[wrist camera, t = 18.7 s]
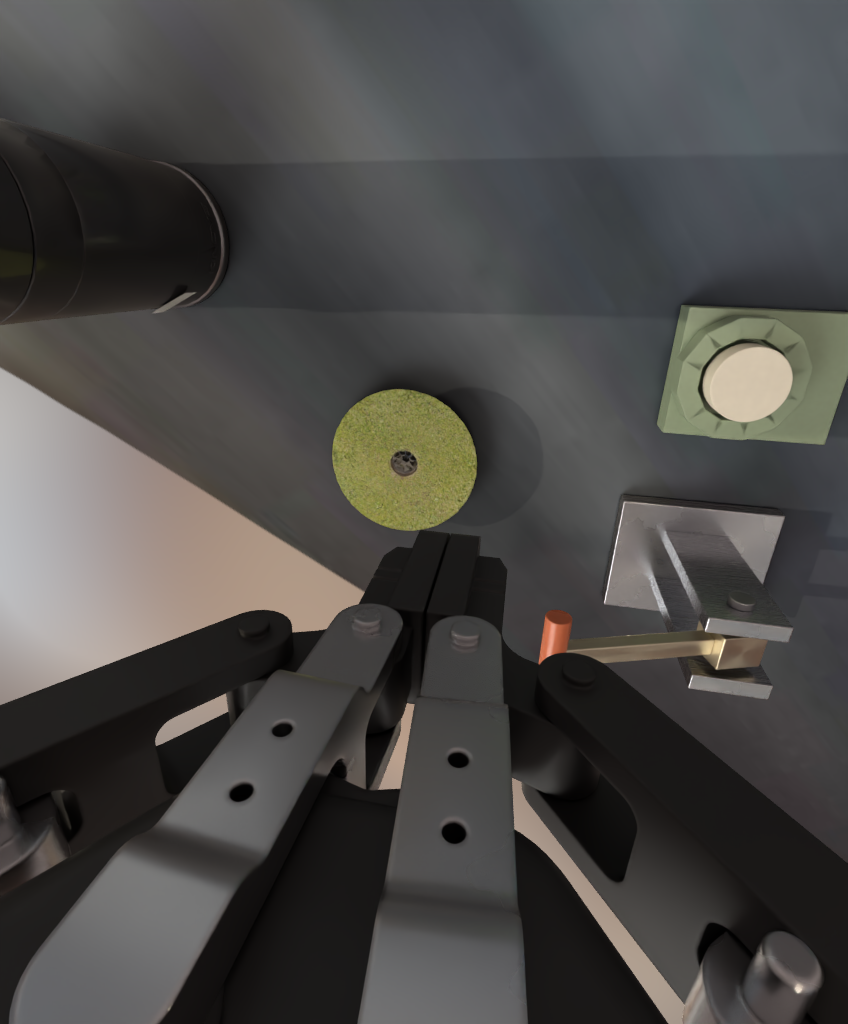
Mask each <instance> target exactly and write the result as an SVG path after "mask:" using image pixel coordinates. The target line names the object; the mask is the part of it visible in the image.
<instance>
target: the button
mask: <svg viewBox="0 0 848 1024" xmlns="http://www.w3.org/2000/svg"><path fill="white" fill-rule="evenodd" d="M792 381H793V374H792V369H791V366H790V364H789V362H788V360H787V359H786V358H785V357H784V356H783V355H782V354H781V353H780V352H778V351H776V350H774V349H771V348H769V347H766V346H763V345H759V344H754V343H743V344H738V345H735V346H732V347H730V348H728V349H726V350H724V351H723V352H721V353H720V354H719V355H717V356H716V357H715V358H714V359H713V360H712V362H711V363H710V364H709V366H708V368H707V369H706V372H705V374H704V377H703V384H702V388H703V394H704V397H705V399H706V401H707V402H708V404H709V405H710V406H711V407H712V408H713V409H714V410H716V411H717V412H718V413H719V414H721V415H722V416H724V417H725V418H727V419H729V420H732V421H737V422H751V421H756V420H759V419H762V418H764V417H766V416H768V415H770V414H771V413H773V412H774V411H776V410H777V409H778V408H779V407H780V406H781V405H782V404H783V402H784V401H785V400H786V398H787V396H788V394H789V392H790V390H791V386H792Z"/></svg>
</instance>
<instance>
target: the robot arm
mask: <svg viewBox="0 0 848 1024" xmlns="http://www.w3.org/2000/svg"><path fill="white" fill-rule="evenodd" d="M228 258H229V239H228V232H227V228H226V224H225V221H224V218H223V215H222V213H221V210H220V208H219V206H218V204H217V203H216V201H215V199H214V198H213V196H212V195H211V193H210V192H209V191H208V189H207V188H206V187H205V186H204V185H203V184H202V183H201V182H200V181H199V180H198V179H197V178H196V177H194V176H193V175H192V174H190V173H189V172H187V171H185V170H184V169H182V168H179V167H177V166H174V165H171V164H168V163H164V162H160V161H152V160H147V159H144V158H140V157H137V156H134V155H131V154H127V153H124V152H120V151H117V150H113V149H110V148H106V147H102V146H99V145H95V144H92V143H88V142H85V141H81V140H78V139H74V138H71V137H67V136H63V135H60V134H56V133H53V132H49V131H46V130H42V129H39V128H35V127H32V126H28V125H24V124H21V123H17V122H14V121H10V120H7V119H3V118H0V325H5V324H14V323H24V322H33V321H40V320H49V319H59V318H69V317H78V316H88V315H98V314H107V313H117V312H127V311H137V310H146V309H157V310H156V311H154V312H152V313H159V312H164V311H166V310H168V309H169V308H181V307H189V306H193V305H196V304H199V303H201V302H203V301H204V300H206V299H207V298H209V297H210V296H211V295H212V294H213V293H214V292H215V291H216V289H217V288H218V287H219V285H220V283H221V281H222V280H223V277H224V275H225V272H226V269H227V264H228ZM158 308H159V309H158ZM480 540H481V537H480V536H471V535H462V534H453V533H451V536H450V534H449V533H443V532H434V531H424V530H420V532H419V534H418V536H417V538H416V541H415V543H414V545H413V548H404V547H396V548H395V549H393V550H392V551H390V552H389V553H387V554H386V555H384V557H383V559H382V561H381V562H380V564H379V566H378V569H377V570H376V572H375V574H374V576H373V578H372V580H371V582H370V583H369V585H368V587H367V589H366V591H365V593H364V595H363V597H362V599H361V601H360V603H359V604H358V605H354V606H351V607H348V608H346V609H344V610H342V611H341V612H340V613H338V615H337V616H336V617H335V618H334V620H333V621H332V622H331V624H330V625H329V627H328V628H327V629H325V630H319V631H307V632H296V633H295V632H294V633H292V624H291V622H290V620H289V619H288V618H287V617H286V616H285V615H283V614H281V613H279V612H275V611H269V610H255V611H249V612H245V613H242V614H239V615H236V616H234V617H231V618H228V619H226V620H223V621H220V622H218V623H215V624H213V625H210V626H207V627H205V628H202V629H200V630H197V631H194V632H191V633H189V634H186V635H184V636H181V637H178V638H176V639H173V640H170V641H168V642H165V643H163V644H160V645H157V646H155V647H152V648H149V649H147V650H144V651H142V652H139V653H136V654H134V655H131V656H128V657H126V658H123V659H121V660H118V661H116V662H113V663H110V664H108V665H105V666H103V667H100V668H97V669H94V670H92V671H89V672H87V673H84V674H81V675H79V676H76V677H73V678H71V679H68V680H65V681H63V682H60V683H57V684H55V685H52V686H50V687H47V688H44V689H42V690H39V691H36V692H34V693H31V694H29V695H26V696H24V697H21V698H18V699H15V700H13V701H10V702H8V703H5V704H2V705H0V1024H668V1023H667V1021H666V1020H665V1018H664V1017H663V1015H662V1014H661V1013H660V1011H659V1010H658V1008H657V1007H656V1005H655V1004H654V1003H653V1001H652V1000H651V998H650V997H649V995H648V994H647V993H646V991H645V990H644V988H643V987H642V985H641V984H640V983H639V981H638V980H637V978H636V977H635V975H634V974H633V972H632V971H631V970H630V968H629V967H628V965H627V964H626V962H625V961H624V960H623V958H622V957H621V955H620V954H619V952H618V951H617V950H616V948H615V947H614V945H613V944H612V942H611V941H610V940H609V938H608V937H607V935H606V934H605V933H604V931H603V930H602V928H601V927H600V925H599V924H598V922H597V921H596V919H595V918H594V917H593V915H592V914H591V912H590V911H589V909H588V908H587V907H586V905H585V904H584V902H583V901H582V899H581V898H580V897H579V895H578V894H577V892H576V891H575V889H574V888H573V887H572V885H571V884H570V882H569V881H568V880H567V878H566V877H565V875H564V874H563V873H562V871H561V870H560V869H559V868H558V867H557V866H556V865H555V863H554V862H553V861H552V860H551V859H550V858H549V857H548V855H547V854H546V853H544V852H543V851H542V850H541V849H540V848H539V847H538V846H537V845H536V844H535V843H533V842H532V841H531V840H529V839H528V838H526V837H525V836H524V835H523V834H521V833H520V832H518V831H516V830H515V829H514V814H513V794H512V793H513V792H512V778H514V779H516V780H518V781H521V782H522V791H523V794H524V796H525V798H526V800H527V802H528V803H529V805H530V806H531V807H532V808H533V810H534V811H535V812H536V813H537V815H538V816H539V817H540V819H541V820H542V821H543V823H544V824H545V825H546V826H547V828H548V829H549V830H550V831H551V833H552V834H553V835H554V837H555V838H556V839H557V841H558V842H559V843H560V844H561V846H562V847H563V848H564V850H565V851H566V852H567V853H568V855H569V856H570V857H571V859H572V860H573V861H574V863H575V864H576V865H577V866H578V868H579V869H580V870H581V872H582V873H583V874H584V875H585V877H586V878H587V879H588V881H589V882H590V883H591V885H592V886H593V887H594V888H595V890H596V891H597V892H598V893H599V895H600V896H601V897H602V899H603V900H604V901H605V903H606V904H607V905H608V906H609V908H610V909H611V910H612V912H613V913H614V914H615V915H616V917H617V918H618V919H619V921H620V922H621V923H622V925H623V926H624V927H625V928H626V930H627V931H628V932H629V934H630V935H631V936H632V937H633V939H634V940H635V941H636V942H637V944H638V945H639V946H640V948H641V949H642V950H643V952H644V953H645V954H646V956H647V957H648V958H649V959H650V961H651V962H652V963H653V965H654V966H655V967H656V968H657V970H658V971H659V972H660V973H661V975H662V976H663V977H664V979H665V980H666V981H667V983H668V984H669V985H670V987H671V988H672V989H673V990H674V992H675V993H676V994H677V996H678V997H679V998H680V999H681V1001H682V1002H683V1003H684V1005H685V1006H684V1010H683V1024H848V863H847V862H845V861H844V860H843V859H842V858H840V857H839V856H838V855H837V854H836V853H834V852H833V851H832V850H831V849H829V848H828V847H827V846H826V845H825V844H823V843H822V842H821V841H820V840H818V839H817V838H816V837H815V836H814V835H812V834H811V833H810V832H809V831H807V830H806V829H805V828H804V827H803V826H801V825H800V824H799V823H798V822H796V821H795V820H794V819H793V818H792V817H790V816H789V815H788V814H787V813H785V812H784V811H783V810H782V809H781V808H779V807H778V806H777V805H776V804H774V803H773V802H772V801H771V800H770V799H768V798H767V797H766V796H765V795H763V794H762V793H761V792H760V791H759V790H757V789H756V788H755V787H754V786H752V785H751V784H750V783H749V782H748V781H746V780H745V779H744V778H743V777H741V776H740V775H739V774H738V773H737V772H735V771H734V770H733V769H732V768H731V767H729V766H728V765H727V764H726V763H724V762H723V761H722V760H721V759H720V758H718V757H717V756H716V755H715V754H713V753H712V752H711V751H710V750H709V749H707V748H706V747H705V746H704V745H702V744H701V743H700V742H699V741H698V740H696V739H695V738H694V737H693V736H691V735H690V734H689V733H688V732H687V731H685V730H684V729H683V728H682V727H680V726H679V725H678V724H677V723H676V722H674V721H673V720H672V719H671V718H669V717H668V716H667V715H666V714H665V713H663V712H662V711H661V710H660V709H658V708H657V707H656V706H655V705H654V704H652V703H651V702H650V701H649V700H647V699H646V698H645V697H644V696H643V695H641V694H640V693H639V692H638V691H636V690H635V689H634V688H633V687H632V686H630V685H629V684H628V683H627V682H625V681H624V680H623V679H622V678H621V677H619V676H618V675H617V674H616V673H614V672H613V671H612V670H611V669H610V668H608V667H607V666H606V665H604V664H603V663H601V662H600V661H598V660H596V659H594V658H592V657H589V656H586V655H582V654H578V653H557V654H553V655H551V656H548V657H547V658H545V659H544V660H543V661H542V662H541V663H540V664H537V663H534V662H532V661H529V660H527V659H524V658H522V657H521V656H519V655H517V654H516V653H514V652H513V651H512V650H511V649H510V648H509V647H508V646H507V645H506V643H505V642H504V640H503V637H502V624H503V613H504V602H505V590H506V579H507V569H506V567H505V566H504V564H503V563H502V561H501V560H500V558H493V557H484V556H479V554H480ZM225 693H226V697H227V704H228V711H229V712H227V713H225V714H223V715H221V716H219V717H217V718H214V719H213V720H210V721H209V722H206V723H205V724H202V725H200V726H198V727H196V728H194V729H192V730H190V731H188V732H186V733H184V734H182V735H180V736H178V737H176V738H173V739H171V740H169V741H167V742H165V743H163V744H161V745H158V746H156V745H155V738H156V735H157V733H158V731H159V730H160V728H161V727H162V726H163V725H164V724H165V723H166V722H167V721H169V720H170V719H172V718H174V717H176V716H178V715H180V714H182V713H184V712H187V711H189V710H191V709H193V708H195V707H197V706H200V705H202V704H204V703H206V702H208V701H210V700H212V699H215V698H217V697H219V696H221V695H223V694H225ZM407 703H410V704H415V706H414V711H413V717H412V723H411V729H410V735H409V741H408V747H407V753H406V759H405V765H404V771H403V777H402V783H401V789H387V790H378V788H379V786H380V784H381V781H382V778H383V776H384V773H385V771H386V768H387V766H388V763H389V761H390V758H391V755H392V753H393V750H394V748H395V745H396V743H397V740H398V737H399V735H400V731H401V718H402V716H403V714H404V711H405V707H406V704H407Z"/></svg>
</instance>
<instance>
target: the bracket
mask: <svg viewBox="0 0 848 1024" xmlns="http://www.w3.org/2000/svg"><path fill="white" fill-rule="evenodd" d="M784 519H785V516H784V515H783V514H782V513H781V512H780V511H779V510H778V509H771V508H760V507H749V506H739V505H728V504H717V503H707V502H696V501H685V500H675V499H664V498H654V497H643V496H632V495H621V498H620V503H619V509H618V514H617V519H616V524H615V530H614V535H613V540H612V545H611V551H610V556H609V561H608V566H607V571H606V577H605V582H604V587H603V592H602V597H603V602H604V604H606V605H615V606H623V607H631V608H639V609H647V610H655V611H661V614H662V617H663V620H664V622H665V625H666V628H667V631H668V633H670V632H684V631H696V630H697V626H698V623H699V621H700V623H701V625H702V627H703V629H704V631H705V632H708V633H716V634H724V635H731V636H739V637H747V638H755V639H763V640H771V641H779V642H786V643H788V642H789V641H790V638H791V635H792V633H793V630H794V628H793V626H792V625H791V624H790V622H789V621H788V619H787V618H786V617H785V615H784V614H783V613H782V611H781V610H780V608H779V607H778V606H777V604H776V603H775V601H774V600H773V599H772V597H771V596H770V594H769V593H768V592H767V590H766V589H765V588H764V586H763V583H764V580H765V577H766V574H767V571H768V568H769V565H770V562H771V559H772V556H773V553H774V550H775V547H776V544H777V540H778V537H779V534H780V531H781V528H782V525H783V522H784ZM677 658H678V661H679V663H680V666H681V669H682V672H683V674H684V677H685V680H686V683H687V685H688V688H691V689H698V690H705V691H712V692H719V693H726V694H733V695H740V696H747V697H754V698H761V699H769V696H770V693H771V691H772V688H773V685H772V684H771V682H770V680H769V678H768V677H767V675H766V673H765V671H764V670H763V668H762V666H761V664H759V666H757V667H745V668H733V669H721V670H716V669H715V668H714V667H713V666H712V665H711V664H710V663H709V662H708V661H707V660H706V659H705V658H704V657H703V655H698V656H685V657H677Z"/></svg>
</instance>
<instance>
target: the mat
mask: <svg viewBox="0 0 848 1024" xmlns="http://www.w3.org/2000/svg"><path fill="white" fill-rule="evenodd" d="M332 458H333V468H334V472H335V475H336V479H337V481H338V483H339V485H340V487H341V490H342V492H343V493H344V495H345V496H346V497H347V499H348V500H349V501H350V503H351V504H352V505H353V506H354V507H355V508H356V509H357V510H358V511H360V513H362V514H363V515H364V516H366V517H367V518H369V519H371V520H372V521H374V522H376V523H378V524H381V525H383V526H385V527H389V528H392V529H393V528H394V529H398V530H399V529H400V530H406V531H408V530H421V529H426V528H430V527H433V526H436V525H438V524H441V523H442V522H443V521H446V520H448V519H449V518H450V517H451V516H453V515H454V514H455V513H457V512H458V510H459V508H461V507H462V506H463V505H464V503H465V502H466V501H467V499H468V497H469V496H470V493H471V491H472V488H473V485H474V483H475V478H476V474H477V473H476V470H477V461H476V453H475V446H474V444H473V440H472V438H471V435H470V433H469V432H468V430H467V428H466V427H465V425H464V423H463V422H462V421H461V419H460V418H459V417H458V416H457V415H456V414H455V412H454V411H452V410H451V409H450V408H449V407H448V406H446V405H445V404H444V403H442V402H441V401H439V400H437V399H436V398H434V397H432V396H428V395H427V394H424V393H419V392H416V391H413V390H403V389H394V390H392V389H391V390H386V391H381V392H378V393H375V394H372V395H370V396H368V397H366V398H364V399H363V400H361V401H359V402H357V404H356V405H354V406H353V407H352V408H351V409H350V410H349V412H347V413H346V415H345V416H344V418H343V419H342V421H341V423H340V425H339V427H338V428H337V431H336V435H335V437H334V442H333V451H332Z"/></svg>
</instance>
